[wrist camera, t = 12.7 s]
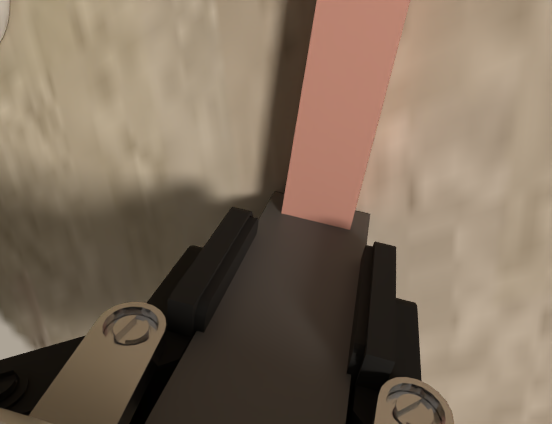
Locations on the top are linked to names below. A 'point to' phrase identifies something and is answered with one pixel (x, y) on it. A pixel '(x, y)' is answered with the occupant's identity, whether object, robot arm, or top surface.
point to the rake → (300, 247)
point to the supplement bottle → (4, 16)
